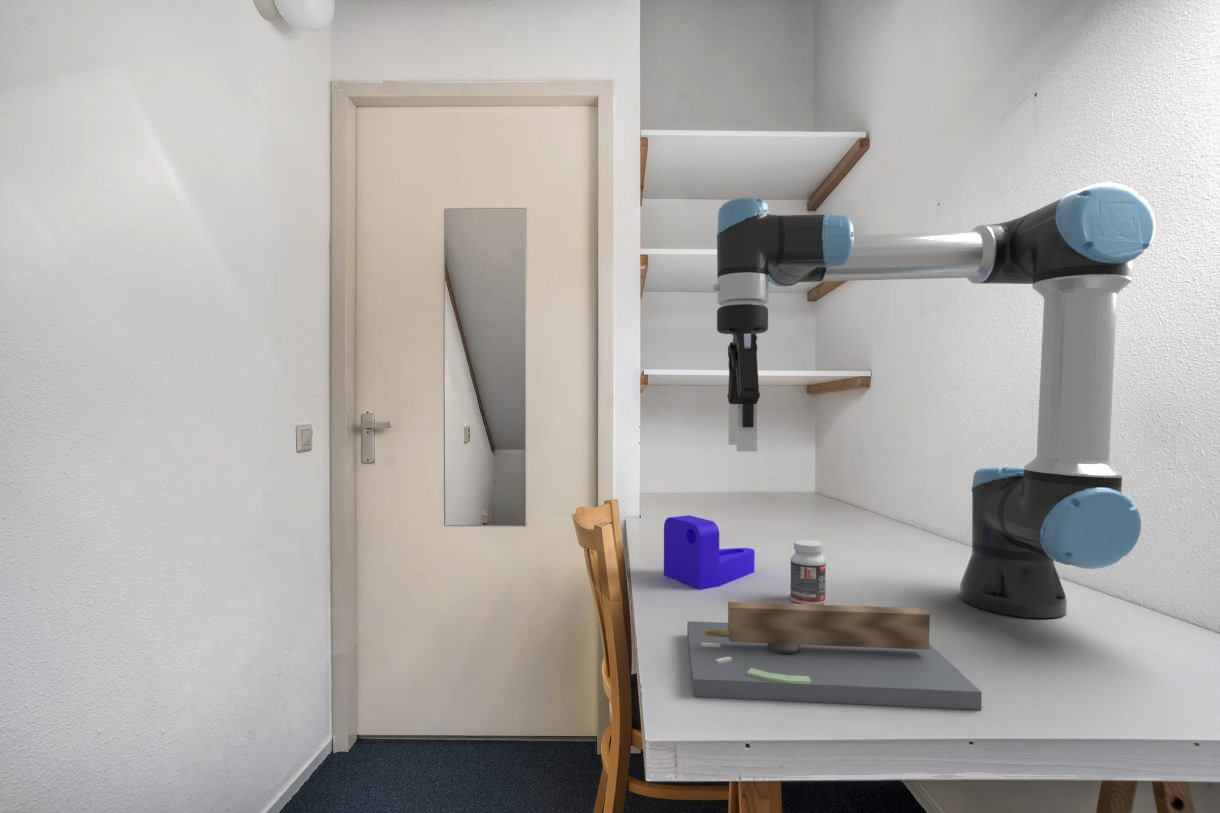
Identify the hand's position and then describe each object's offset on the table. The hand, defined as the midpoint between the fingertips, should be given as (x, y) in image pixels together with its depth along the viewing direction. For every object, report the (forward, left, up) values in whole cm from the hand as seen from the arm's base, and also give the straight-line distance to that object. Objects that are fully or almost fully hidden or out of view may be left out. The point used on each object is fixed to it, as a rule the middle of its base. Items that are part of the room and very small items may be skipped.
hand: (741, 448), depth 94 cm
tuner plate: (-8, +14, -27) cm, 31 cm away
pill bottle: (-13, -14, -27) cm, 33 cm away
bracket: (+1, -27, -27) cm, 39 cm away
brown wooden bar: (-8, +13, -25) cm, 29 cm away
